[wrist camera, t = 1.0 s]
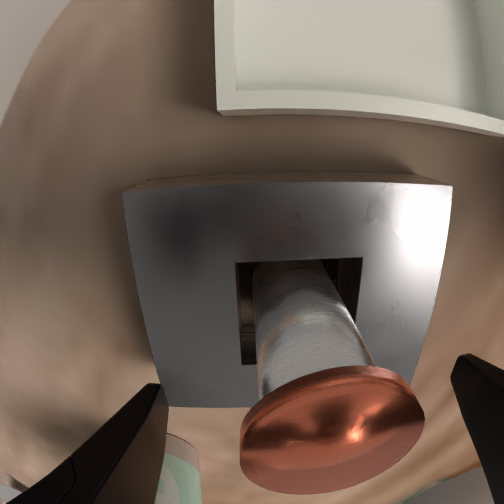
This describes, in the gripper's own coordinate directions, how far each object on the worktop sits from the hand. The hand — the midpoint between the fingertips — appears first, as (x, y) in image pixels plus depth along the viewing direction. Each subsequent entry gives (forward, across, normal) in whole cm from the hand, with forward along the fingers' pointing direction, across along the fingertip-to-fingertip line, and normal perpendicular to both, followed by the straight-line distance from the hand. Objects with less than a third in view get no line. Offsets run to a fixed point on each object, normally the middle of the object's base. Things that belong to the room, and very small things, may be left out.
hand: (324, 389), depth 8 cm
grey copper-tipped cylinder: (+7, 0, 0) cm, 7 cm away
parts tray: (+7, -4, -13) cm, 15 cm away
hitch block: (+7, 0, 0) cm, 7 cm away
